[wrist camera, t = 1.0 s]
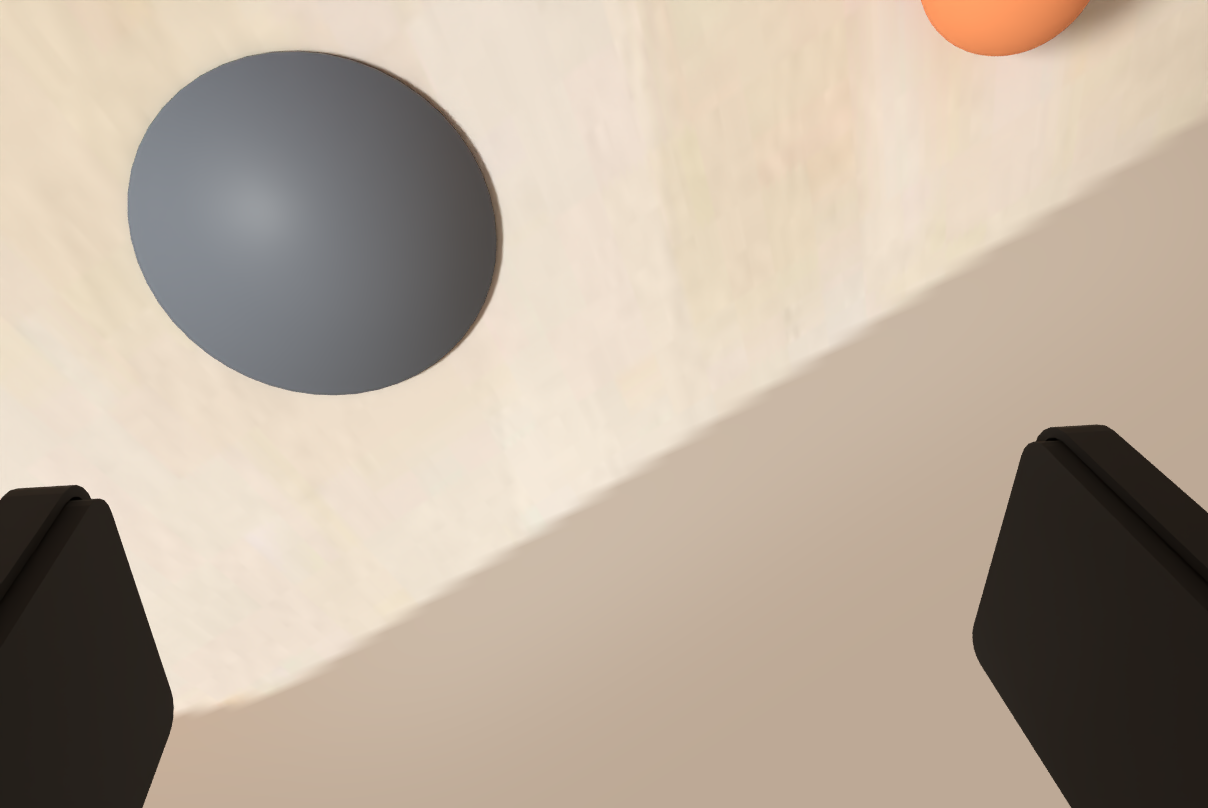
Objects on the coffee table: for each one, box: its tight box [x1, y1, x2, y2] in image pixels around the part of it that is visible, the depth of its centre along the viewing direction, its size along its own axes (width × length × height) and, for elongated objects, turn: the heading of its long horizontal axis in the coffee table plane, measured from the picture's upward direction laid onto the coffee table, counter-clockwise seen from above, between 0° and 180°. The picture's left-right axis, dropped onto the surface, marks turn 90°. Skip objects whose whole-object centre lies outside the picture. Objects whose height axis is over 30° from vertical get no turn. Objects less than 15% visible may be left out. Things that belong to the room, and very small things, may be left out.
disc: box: [128, 51, 496, 395], centre depth 33 cm, size 13×13×1 cm
